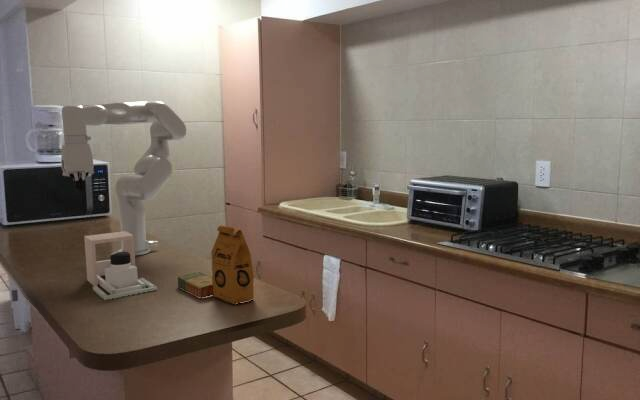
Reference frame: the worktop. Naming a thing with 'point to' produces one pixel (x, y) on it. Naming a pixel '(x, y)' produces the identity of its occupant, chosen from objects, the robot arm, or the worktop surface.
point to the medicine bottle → (121, 271)
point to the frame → (147, 283)
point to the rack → (101, 272)
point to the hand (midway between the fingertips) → (80, 190)
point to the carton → (196, 284)
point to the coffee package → (232, 267)
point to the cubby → (104, 238)
